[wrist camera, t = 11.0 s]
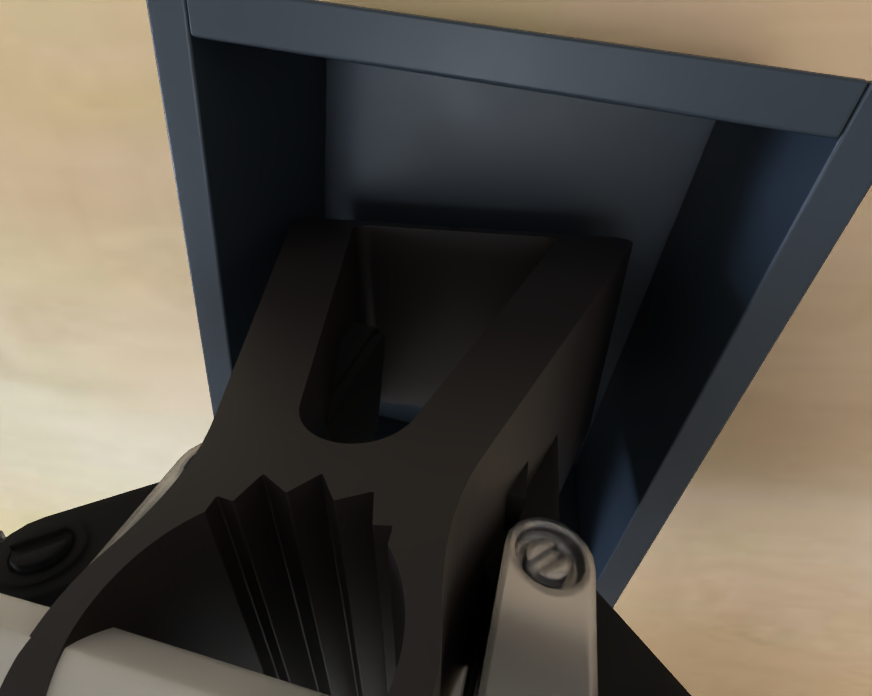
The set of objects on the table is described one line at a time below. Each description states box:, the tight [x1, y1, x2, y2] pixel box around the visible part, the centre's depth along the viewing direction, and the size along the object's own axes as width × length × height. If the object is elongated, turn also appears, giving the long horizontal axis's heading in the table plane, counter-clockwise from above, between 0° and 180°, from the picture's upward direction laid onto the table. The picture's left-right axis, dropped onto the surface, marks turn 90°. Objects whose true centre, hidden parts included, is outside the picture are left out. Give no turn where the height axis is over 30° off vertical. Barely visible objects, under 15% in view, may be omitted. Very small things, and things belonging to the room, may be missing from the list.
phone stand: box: [0, 218, 633, 696], centre depth 9 cm, size 9×6×12 cm, turn 89°
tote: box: [146, 0, 872, 608], centre depth 14 cm, size 13×15×7 cm
